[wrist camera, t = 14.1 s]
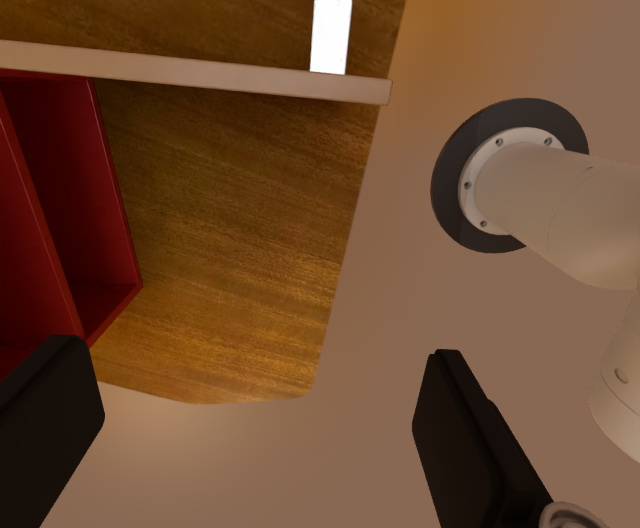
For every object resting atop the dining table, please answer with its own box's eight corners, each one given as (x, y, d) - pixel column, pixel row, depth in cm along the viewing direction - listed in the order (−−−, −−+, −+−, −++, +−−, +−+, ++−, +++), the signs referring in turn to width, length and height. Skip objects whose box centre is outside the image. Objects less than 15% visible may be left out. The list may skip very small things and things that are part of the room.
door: (83, -27, 32) (-387, -278, 10) (352, 4, 33) (430, -160, 12) (98, 75, 35) (-232, 45, 14) (342, 99, 37) (389, 105, 15)
